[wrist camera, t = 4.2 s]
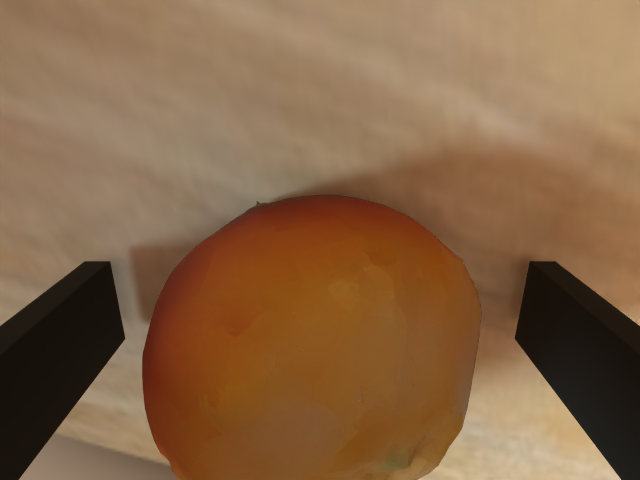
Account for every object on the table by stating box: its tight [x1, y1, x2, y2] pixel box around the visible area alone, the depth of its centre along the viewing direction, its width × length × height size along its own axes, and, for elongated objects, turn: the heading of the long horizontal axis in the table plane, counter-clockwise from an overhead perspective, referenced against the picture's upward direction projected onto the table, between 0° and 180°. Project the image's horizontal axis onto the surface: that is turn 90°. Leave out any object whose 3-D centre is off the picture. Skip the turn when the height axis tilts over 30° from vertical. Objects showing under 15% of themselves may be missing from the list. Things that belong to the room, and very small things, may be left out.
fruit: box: [142, 195, 481, 480], centre depth 11 cm, size 8×8×8 cm
